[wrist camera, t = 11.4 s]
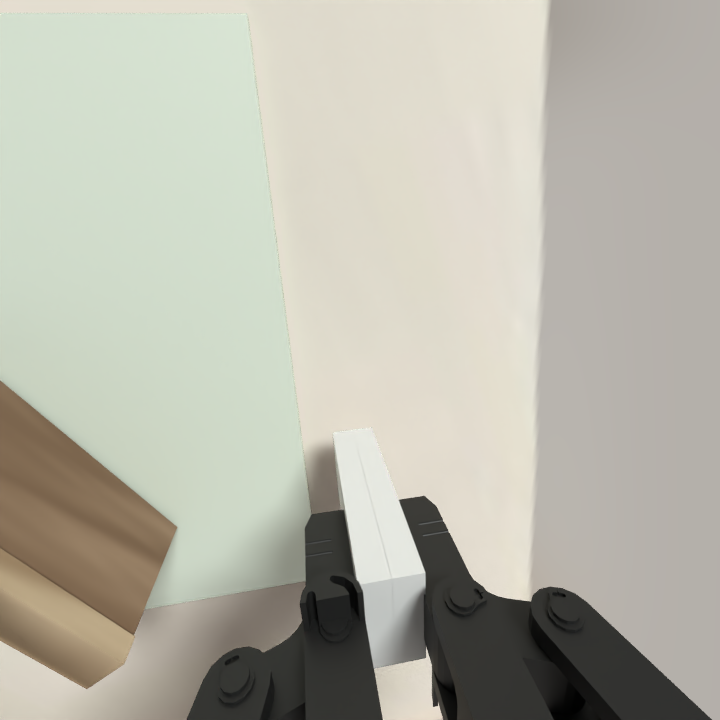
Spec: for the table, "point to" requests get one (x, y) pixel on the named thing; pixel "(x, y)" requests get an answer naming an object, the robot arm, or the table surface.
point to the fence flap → (70, 549)
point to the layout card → (154, 280)
